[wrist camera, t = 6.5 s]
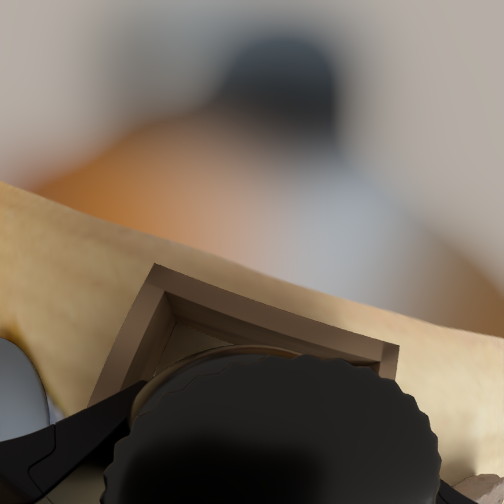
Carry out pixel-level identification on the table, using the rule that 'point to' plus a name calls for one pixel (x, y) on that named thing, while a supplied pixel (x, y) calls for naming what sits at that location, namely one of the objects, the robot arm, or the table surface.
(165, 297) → the wooden u-shaped frame
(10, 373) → the coaster
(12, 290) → the table surface
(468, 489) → the brick
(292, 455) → the supplement bottle
